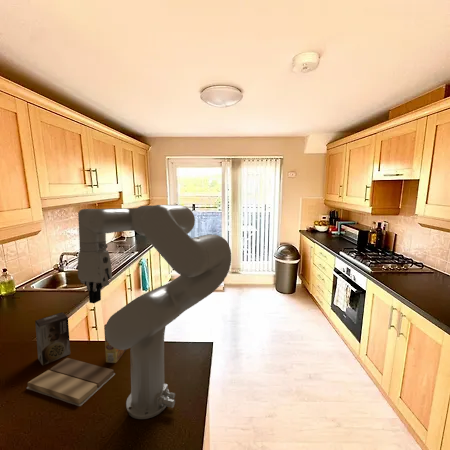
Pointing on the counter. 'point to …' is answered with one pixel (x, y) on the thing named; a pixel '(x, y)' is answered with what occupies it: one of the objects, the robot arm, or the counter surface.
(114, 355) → the candy box
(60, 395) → the oak plank
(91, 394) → the underlay mat
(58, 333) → the coffee box
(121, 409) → the counter surface
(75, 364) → the walnut plank
